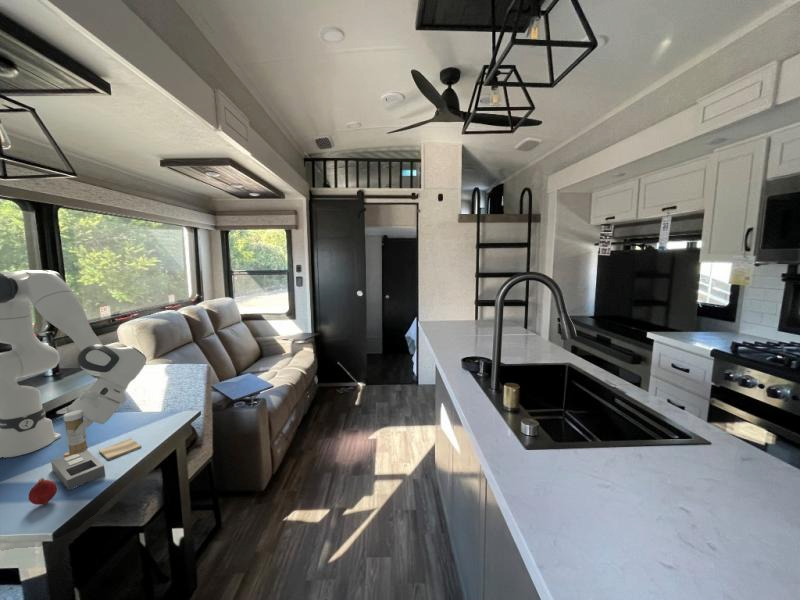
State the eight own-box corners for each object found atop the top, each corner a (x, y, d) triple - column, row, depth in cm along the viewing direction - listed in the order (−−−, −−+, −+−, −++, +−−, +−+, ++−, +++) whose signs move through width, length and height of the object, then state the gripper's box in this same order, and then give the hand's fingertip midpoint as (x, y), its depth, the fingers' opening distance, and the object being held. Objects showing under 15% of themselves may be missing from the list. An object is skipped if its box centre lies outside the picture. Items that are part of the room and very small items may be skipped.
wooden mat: (99, 452, 126) (98, 450, 126) (131, 440, 134) (131, 438, 134) (108, 460, 121) (108, 458, 121) (141, 447, 129) (141, 445, 129)
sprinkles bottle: (75, 449, 112) (69, 410, 110) (91, 446, 113) (86, 408, 112) (65, 456, 107) (59, 416, 106) (82, 454, 109) (76, 414, 107)
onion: (59, 503, 99) (55, 478, 98) (30, 514, 95) (26, 488, 94) (58, 494, 103) (54, 470, 102) (30, 504, 99) (26, 479, 98)
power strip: (48, 464, 119) (46, 453, 119) (81, 452, 127) (80, 441, 126) (68, 490, 105) (66, 478, 104) (105, 475, 112) (103, 463, 112)
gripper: (83, 382, 119) (49, 420, 111) (111, 392, 109) (76, 434, 102) (101, 390, 123) (69, 427, 116) (129, 400, 114) (96, 441, 106)
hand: (73, 430), depth 109 cm, fingers closed on sprinkles bottle, 4 cm apart
